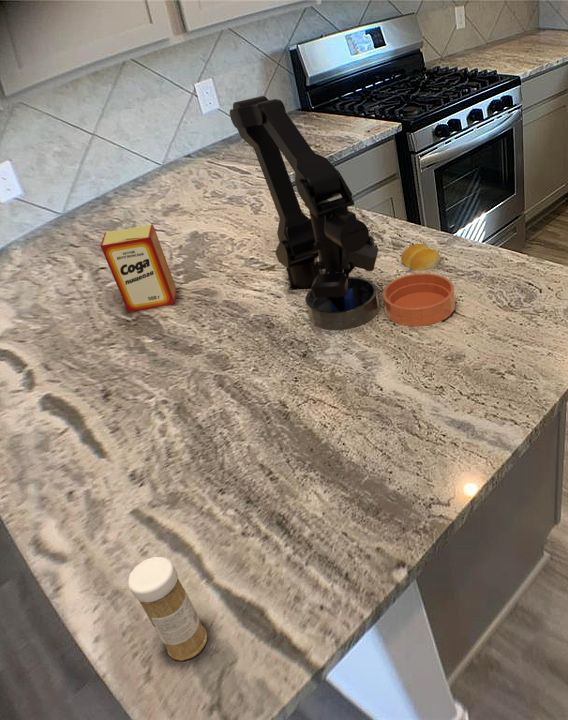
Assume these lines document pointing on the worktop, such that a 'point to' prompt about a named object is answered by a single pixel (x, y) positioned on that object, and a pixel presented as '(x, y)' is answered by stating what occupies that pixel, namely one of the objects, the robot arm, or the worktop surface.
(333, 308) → the blue block
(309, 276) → the robot arm
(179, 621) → the sprinkles bottle
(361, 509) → the worktop surface
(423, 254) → the bread roll
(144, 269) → the baking soda box
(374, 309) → the charcoal bowl
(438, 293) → the terracotta bowl
